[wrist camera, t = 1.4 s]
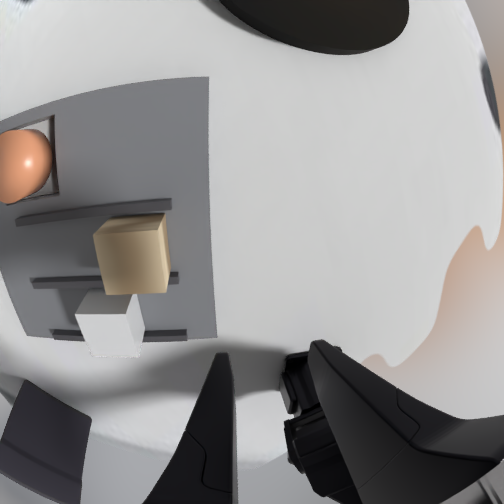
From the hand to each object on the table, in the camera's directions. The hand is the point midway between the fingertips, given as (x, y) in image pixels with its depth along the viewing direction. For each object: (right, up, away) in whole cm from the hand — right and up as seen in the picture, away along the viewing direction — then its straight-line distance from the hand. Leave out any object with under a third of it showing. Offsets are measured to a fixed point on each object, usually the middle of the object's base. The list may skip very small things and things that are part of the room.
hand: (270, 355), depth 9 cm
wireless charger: (+4, +27, +4) cm, 28 cm away
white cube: (-11, -1, +11) cm, 16 cm away
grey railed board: (-14, +5, +9) cm, 17 cm away
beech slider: (-8, +4, +9) cm, 13 cm away
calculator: (-28, -17, +17) cm, 37 cm away
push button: (-17, +10, +5) cm, 21 cm away
